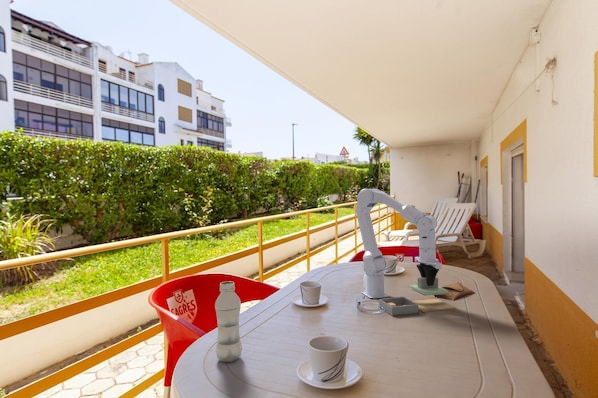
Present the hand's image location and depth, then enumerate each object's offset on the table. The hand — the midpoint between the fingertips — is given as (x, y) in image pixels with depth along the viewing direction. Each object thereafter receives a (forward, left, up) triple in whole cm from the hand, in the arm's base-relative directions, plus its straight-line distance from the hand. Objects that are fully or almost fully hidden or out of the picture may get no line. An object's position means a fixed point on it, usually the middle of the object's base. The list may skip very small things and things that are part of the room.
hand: (428, 284), depth 131 cm
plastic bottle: (+24, -74, -8) cm, 78 cm away
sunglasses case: (-9, +17, -8) cm, 21 cm away
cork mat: (0, 0, -8) cm, 8 cm away
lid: (0, 0, -3) cm, 3 cm away
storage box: (+2, -14, -8) cm, 16 cm away
